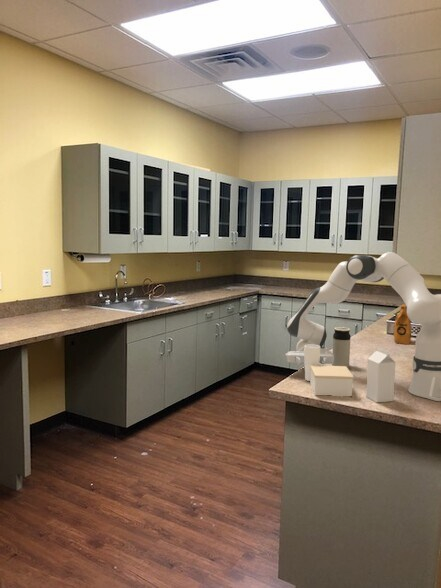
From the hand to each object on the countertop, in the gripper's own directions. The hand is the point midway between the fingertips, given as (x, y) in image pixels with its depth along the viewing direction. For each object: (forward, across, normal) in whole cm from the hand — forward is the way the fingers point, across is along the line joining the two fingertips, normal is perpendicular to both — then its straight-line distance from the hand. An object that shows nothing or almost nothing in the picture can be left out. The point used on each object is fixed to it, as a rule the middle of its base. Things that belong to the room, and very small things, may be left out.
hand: (312, 362), depth 197 cm
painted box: (+12, +6, +8) cm, 16 cm away
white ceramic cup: (0, 0, +8) cm, 8 cm away
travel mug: (-25, +17, +8) cm, 31 cm away
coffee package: (-81, +63, +8) cm, 103 cm away
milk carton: (+21, +23, +8) cm, 32 cm away
